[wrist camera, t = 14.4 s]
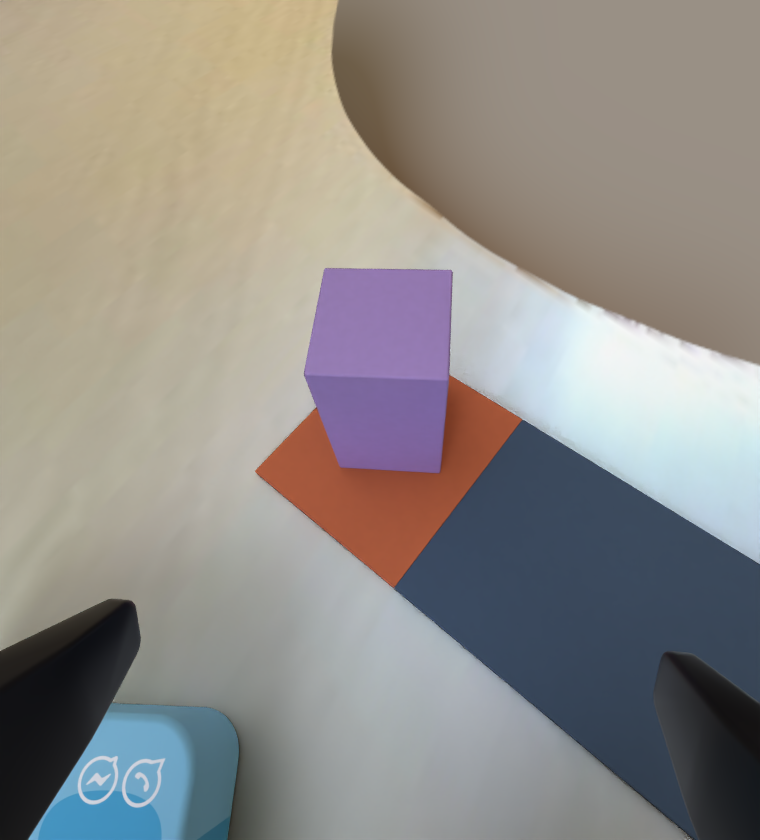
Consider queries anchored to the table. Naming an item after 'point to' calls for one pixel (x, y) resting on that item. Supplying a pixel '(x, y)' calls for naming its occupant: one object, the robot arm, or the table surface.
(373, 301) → the block
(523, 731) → the table surface
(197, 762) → the data package
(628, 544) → the mat
